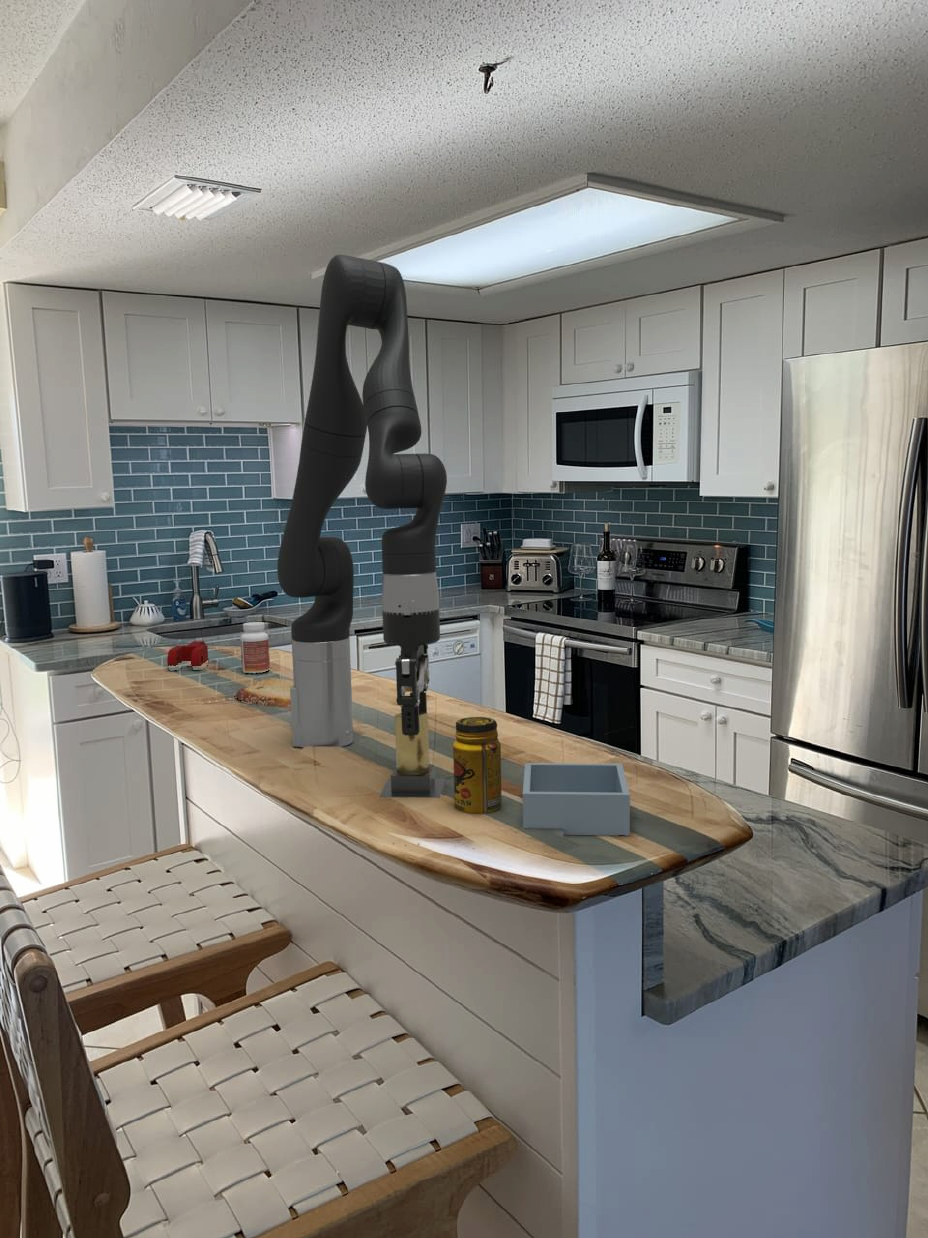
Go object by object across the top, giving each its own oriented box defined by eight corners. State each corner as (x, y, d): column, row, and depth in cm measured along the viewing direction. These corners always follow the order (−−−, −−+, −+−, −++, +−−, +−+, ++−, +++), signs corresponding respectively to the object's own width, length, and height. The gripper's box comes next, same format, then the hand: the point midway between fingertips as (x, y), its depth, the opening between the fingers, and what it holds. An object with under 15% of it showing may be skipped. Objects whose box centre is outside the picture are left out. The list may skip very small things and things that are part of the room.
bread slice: (343, 705, 186) (342, 686, 186) (248, 715, 179) (247, 695, 179) (319, 687, 203) (318, 669, 202) (232, 696, 196) (231, 678, 195)
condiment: (440, 814, 124) (438, 722, 122) (482, 796, 130) (480, 709, 129) (484, 826, 119) (483, 730, 118) (525, 807, 126) (525, 717, 124)
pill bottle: (275, 672, 218) (273, 623, 216) (251, 676, 214) (249, 626, 212) (260, 668, 222) (258, 620, 221) (236, 672, 218) (234, 623, 217)
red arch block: (199, 672, 220) (198, 650, 219) (168, 673, 220) (166, 651, 219) (216, 659, 235) (215, 639, 235) (187, 660, 235) (185, 640, 235)
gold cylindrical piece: (391, 793, 130) (389, 720, 128) (397, 781, 135) (395, 710, 133) (430, 793, 129) (428, 720, 128) (434, 781, 134) (433, 710, 133)
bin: (523, 834, 116) (522, 793, 115) (525, 799, 129) (525, 763, 128) (629, 835, 115) (630, 795, 114) (621, 800, 127) (622, 763, 127)
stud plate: (379, 802, 128) (379, 796, 128) (389, 783, 136) (389, 778, 136) (439, 803, 128) (439, 797, 128) (445, 784, 136) (445, 778, 136)
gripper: (390, 601, 136) (395, 714, 138) (373, 614, 122) (378, 740, 124) (444, 600, 135) (447, 714, 137) (433, 613, 121) (437, 740, 123)
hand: (415, 726), depth 131 cm, fingers open, 8 cm apart
